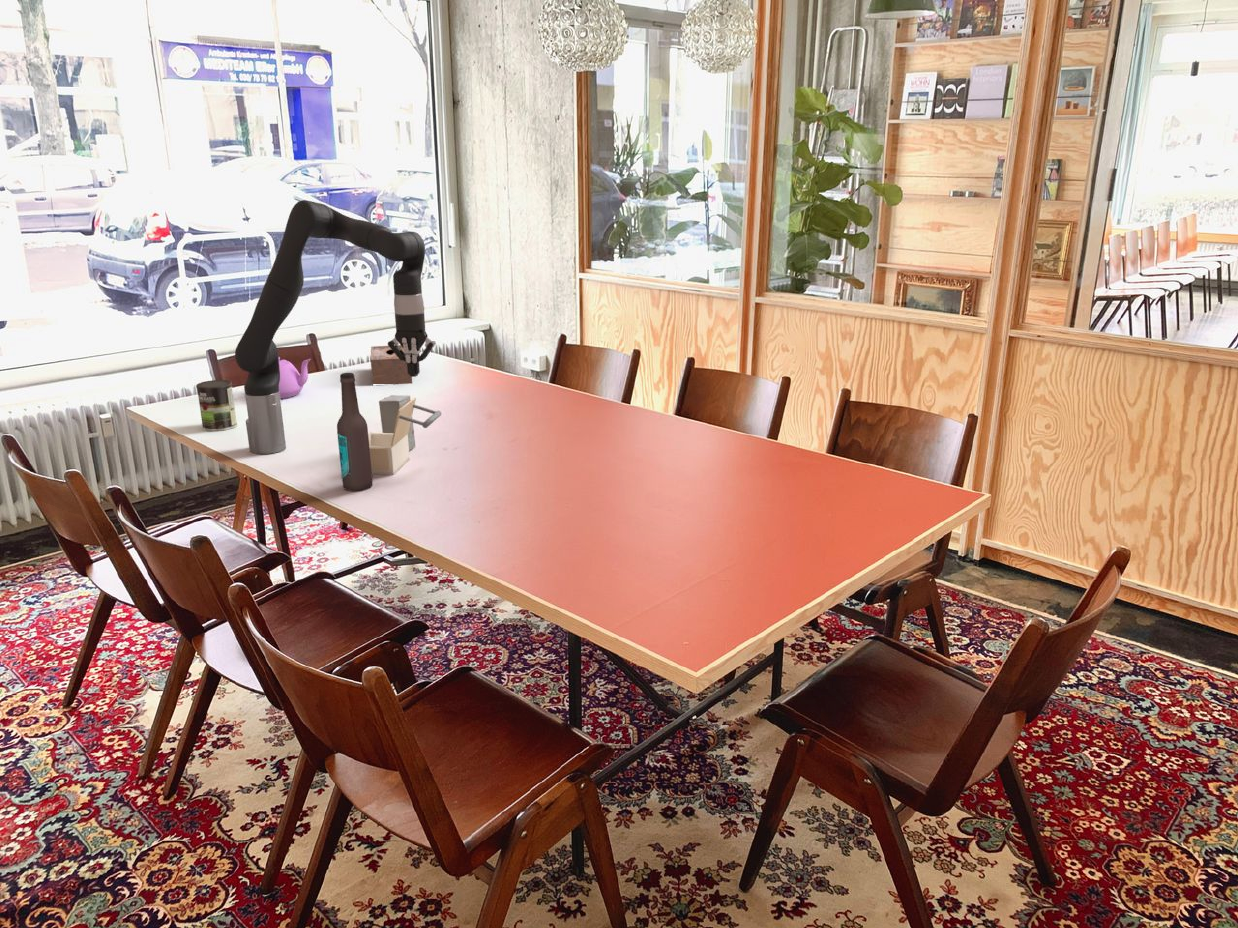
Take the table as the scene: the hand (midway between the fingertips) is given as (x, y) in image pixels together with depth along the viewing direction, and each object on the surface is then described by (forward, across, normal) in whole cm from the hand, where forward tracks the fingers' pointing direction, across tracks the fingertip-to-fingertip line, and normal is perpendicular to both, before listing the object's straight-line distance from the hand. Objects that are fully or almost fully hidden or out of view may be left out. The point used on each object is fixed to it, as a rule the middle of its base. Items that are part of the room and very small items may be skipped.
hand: (414, 376), depth 247 cm
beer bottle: (+26, -11, -16) cm, 33 cm away
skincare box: (+26, -11, +15) cm, 32 cm away
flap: (+13, -4, 0) cm, 13 cm away
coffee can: (+26, -76, +32) cm, 87 cm away
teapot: (+26, -74, +73) cm, 107 cm away
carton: (+26, -11, 0) cm, 28 cm away
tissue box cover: (+26, -46, +105) cm, 118 cm away
